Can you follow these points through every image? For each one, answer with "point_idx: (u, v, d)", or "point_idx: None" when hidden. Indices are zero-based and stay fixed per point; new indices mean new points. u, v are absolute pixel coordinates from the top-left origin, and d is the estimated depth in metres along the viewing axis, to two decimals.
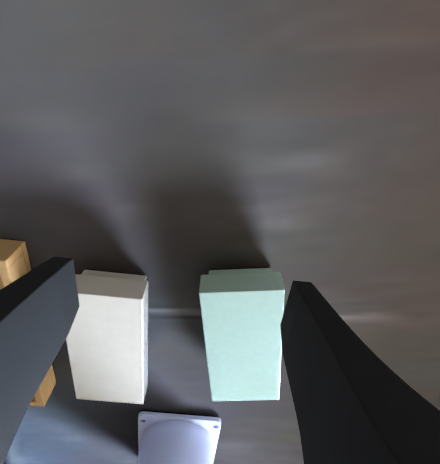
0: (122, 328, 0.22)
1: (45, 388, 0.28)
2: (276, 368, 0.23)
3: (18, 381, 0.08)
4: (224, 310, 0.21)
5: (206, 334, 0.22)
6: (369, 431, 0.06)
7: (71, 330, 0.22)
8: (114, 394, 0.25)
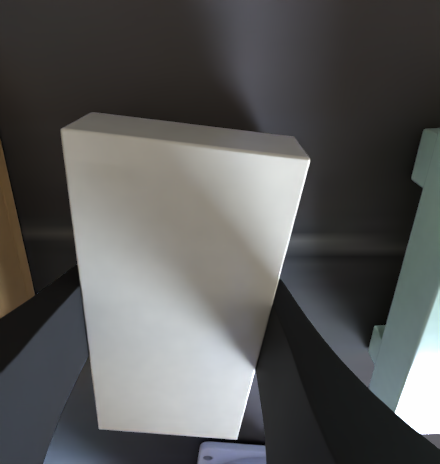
0: (231, 258, 0.08)
1: None
2: None
3: (55, 384, 0.08)
4: None
5: None
6: (313, 427, 0.06)
7: (96, 264, 0.08)
8: (180, 420, 0.12)
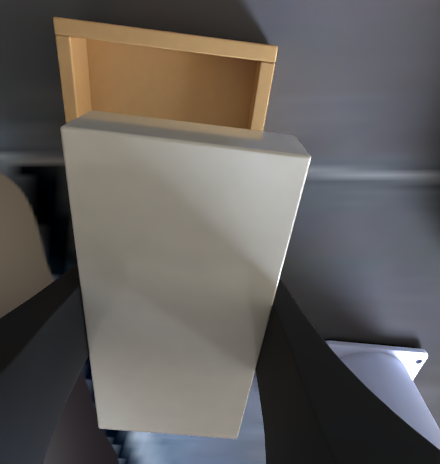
0: (232, 257, 0.08)
1: None
2: None
3: (55, 384, 0.08)
4: None
5: None
6: (313, 426, 0.06)
7: (96, 263, 0.08)
8: (181, 420, 0.12)
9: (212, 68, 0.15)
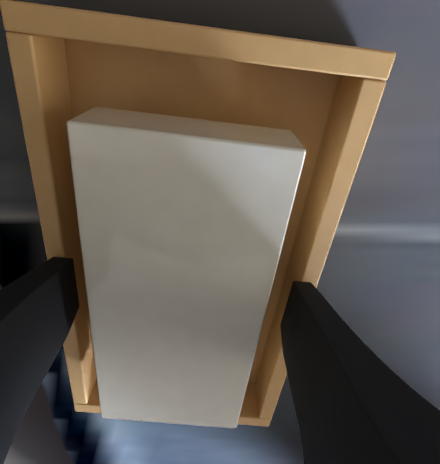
0: (230, 247, 0.08)
1: None
2: None
3: (18, 381, 0.08)
4: None
5: None
6: (369, 431, 0.06)
7: (100, 254, 0.09)
8: (181, 409, 0.12)
9: (266, 86, 0.09)
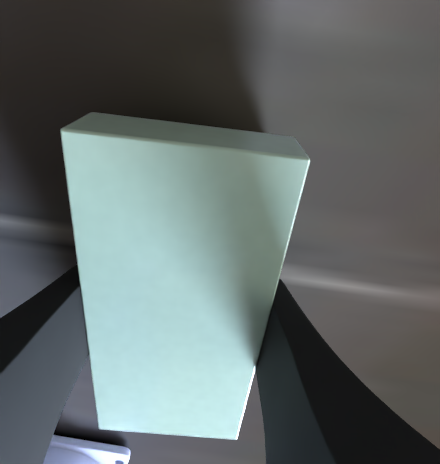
0: None
1: None
2: (244, 376, 0.10)
3: (55, 384, 0.08)
4: (135, 205, 0.07)
5: (84, 271, 0.08)
6: (313, 426, 0.06)
7: None
8: None
9: None
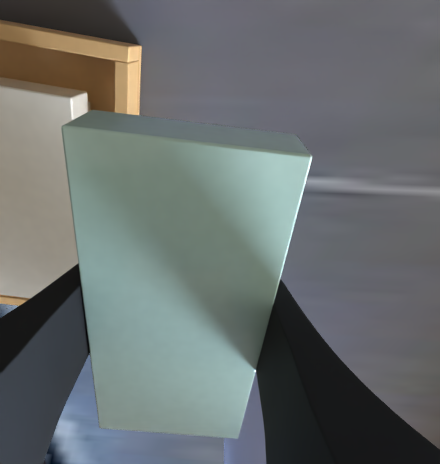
0: (43, 159, 0.14)
1: None
2: (245, 375, 0.10)
3: (55, 384, 0.08)
4: (136, 203, 0.07)
5: (85, 269, 0.08)
6: (312, 426, 0.06)
7: None
8: (42, 286, 0.18)
9: (82, 65, 0.15)
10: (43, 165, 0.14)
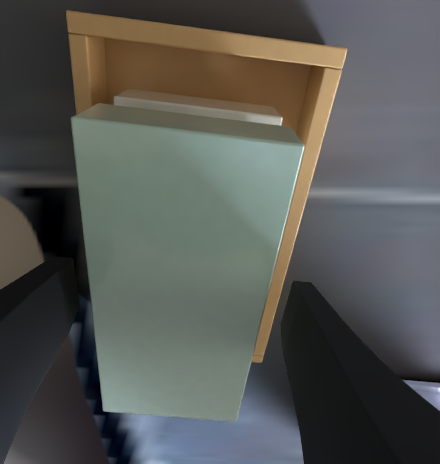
0: None
1: None
2: (243, 358, 0.11)
3: (18, 381, 0.08)
4: (140, 190, 0.08)
5: (91, 254, 0.09)
6: (369, 431, 0.06)
7: None
8: None
9: (256, 74, 0.12)
10: None
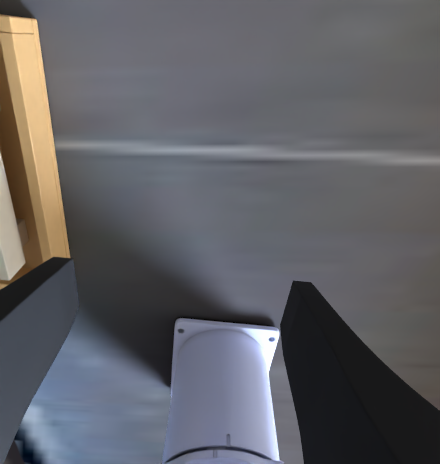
0: None
1: None
2: None
3: (18, 381, 0.08)
4: None
5: None
6: (369, 431, 0.06)
7: None
8: None
9: None
10: None
